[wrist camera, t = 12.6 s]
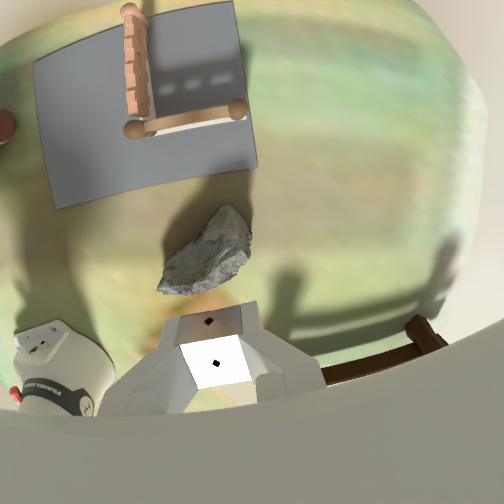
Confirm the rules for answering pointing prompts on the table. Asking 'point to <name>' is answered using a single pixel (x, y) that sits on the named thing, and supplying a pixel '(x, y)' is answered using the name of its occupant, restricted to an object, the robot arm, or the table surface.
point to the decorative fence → (389, 354)
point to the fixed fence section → (185, 119)
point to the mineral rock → (209, 256)
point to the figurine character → (6, 126)
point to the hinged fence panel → (136, 60)
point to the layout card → (161, 105)
